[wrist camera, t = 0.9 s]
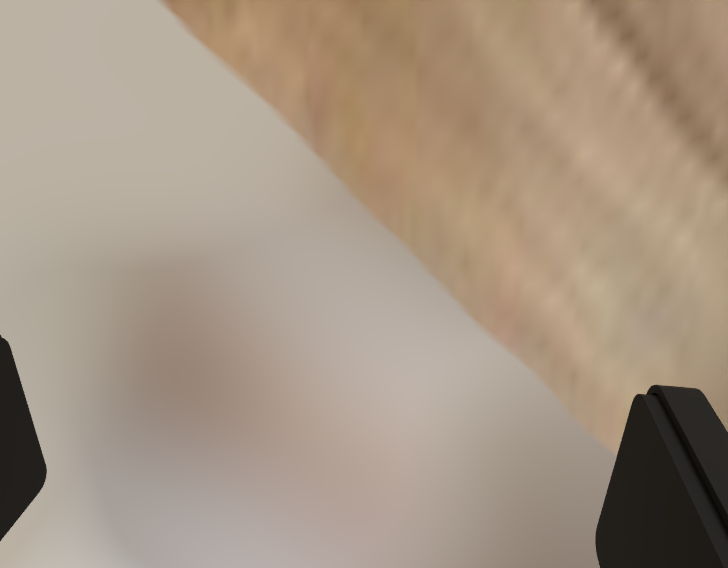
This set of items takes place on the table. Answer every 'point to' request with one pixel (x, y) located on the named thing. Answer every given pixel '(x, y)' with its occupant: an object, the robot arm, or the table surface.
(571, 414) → the table surface
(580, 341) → the table surface
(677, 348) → the table surface
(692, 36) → the table surface
